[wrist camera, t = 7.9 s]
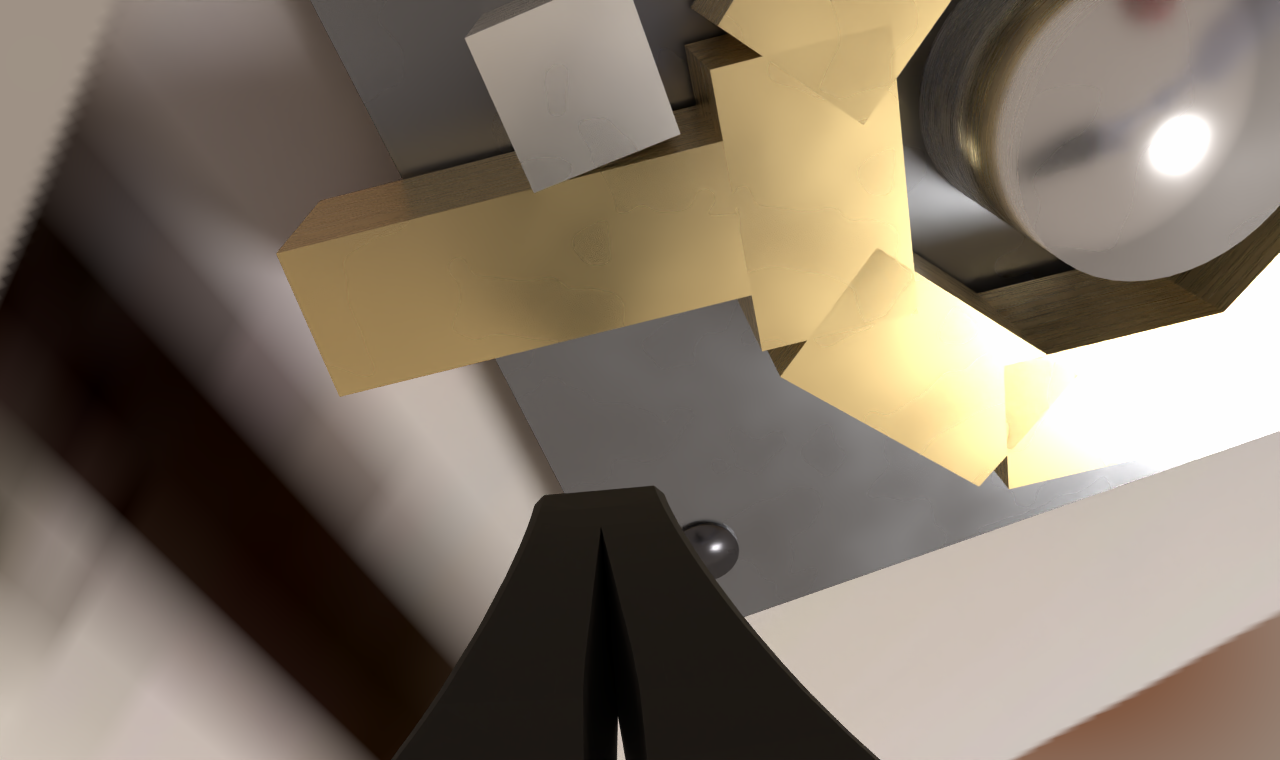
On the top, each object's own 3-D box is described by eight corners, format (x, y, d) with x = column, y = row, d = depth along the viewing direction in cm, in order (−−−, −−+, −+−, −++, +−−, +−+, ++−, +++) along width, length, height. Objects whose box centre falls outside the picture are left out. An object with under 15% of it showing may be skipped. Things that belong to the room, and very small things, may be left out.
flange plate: (1544, -876, 11) (2133, -1347, 7) (1462, 329, 18) (1713, 443, 14) (204, -245, 12) (37, -323, 8) (641, 619, 20) (663, 792, 16)
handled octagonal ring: (1469, -454, 11) (1689, -543, 9) (1350, 316, 17) (1473, 378, 14) (192, -115, 12) (109, -123, 10) (455, 532, 17) (440, 624, 15)
